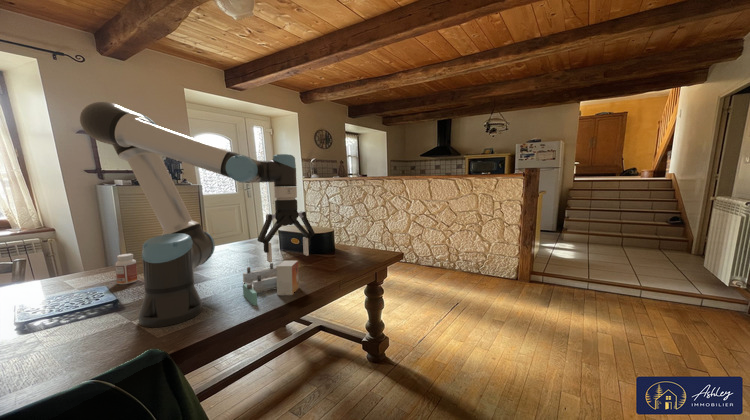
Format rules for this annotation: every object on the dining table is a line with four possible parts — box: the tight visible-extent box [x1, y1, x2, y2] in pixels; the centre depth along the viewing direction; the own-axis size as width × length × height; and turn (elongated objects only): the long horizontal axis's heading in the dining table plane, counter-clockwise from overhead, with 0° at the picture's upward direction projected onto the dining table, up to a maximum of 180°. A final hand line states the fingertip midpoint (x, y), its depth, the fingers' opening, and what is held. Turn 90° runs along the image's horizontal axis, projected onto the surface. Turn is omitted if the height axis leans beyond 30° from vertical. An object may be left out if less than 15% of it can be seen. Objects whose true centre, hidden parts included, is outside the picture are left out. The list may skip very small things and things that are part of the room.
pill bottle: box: [115, 253, 138, 286], centre depth 111 cm, size 6×6×11 cm
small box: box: [275, 260, 300, 296], centre depth 101 cm, size 8×6×10 cm
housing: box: [242, 262, 277, 294], centre depth 109 cm, size 13×15×6 cm
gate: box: [242, 283, 258, 306], centre depth 94 cm, size 2×11×5 cm, turn 40°
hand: (288, 258), depth 101 cm, fingers open, 13 cm apart
